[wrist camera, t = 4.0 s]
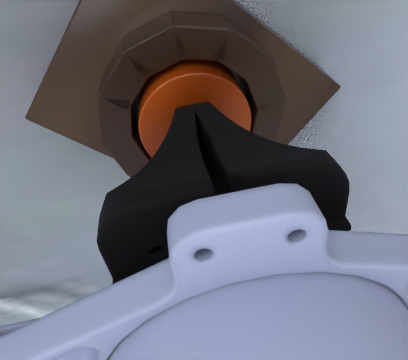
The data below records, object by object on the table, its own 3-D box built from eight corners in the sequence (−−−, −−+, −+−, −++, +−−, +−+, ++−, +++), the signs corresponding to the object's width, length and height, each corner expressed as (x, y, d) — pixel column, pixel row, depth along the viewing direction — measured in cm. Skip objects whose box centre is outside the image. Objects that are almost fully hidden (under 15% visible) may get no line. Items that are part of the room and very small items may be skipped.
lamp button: (260, 89, 16) (274, 110, 14) (201, 161, 17) (208, 188, 16) (174, 30, 14) (179, 48, 12) (119, 120, 15) (117, 145, 14)
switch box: (322, 69, 18) (360, 104, 15) (221, 185, 22) (235, 233, 19) (123, -90, 13) (118, -86, 10) (35, 96, 17) (12, 141, 14)
